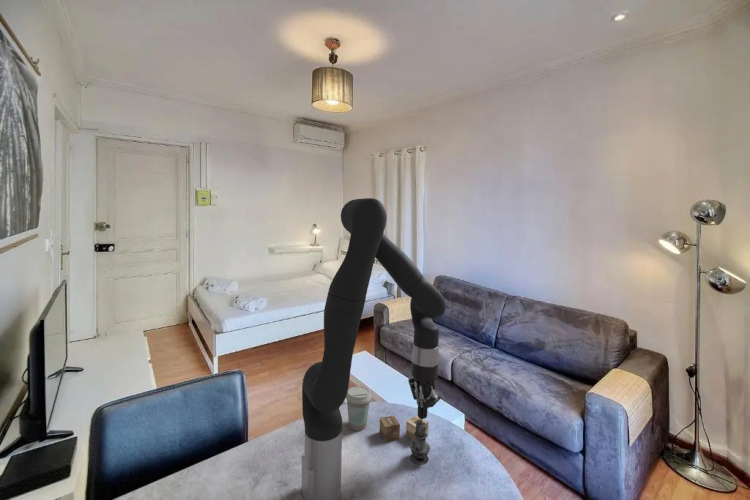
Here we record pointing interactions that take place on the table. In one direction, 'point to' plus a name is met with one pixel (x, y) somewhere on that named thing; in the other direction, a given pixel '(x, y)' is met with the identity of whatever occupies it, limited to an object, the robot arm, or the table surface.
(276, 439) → the table surface
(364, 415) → the coffee cup
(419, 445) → the black chess piece
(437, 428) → the table surface
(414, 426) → the beech block digit
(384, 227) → the robot arm
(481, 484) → the table surface
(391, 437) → the walnut block digit
